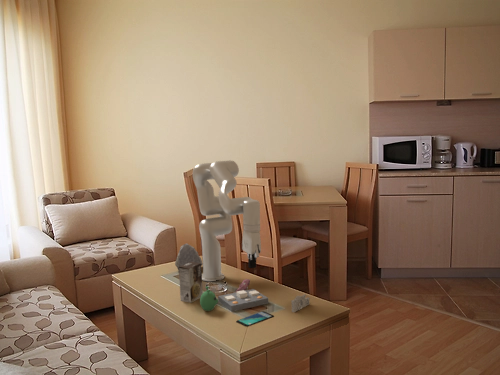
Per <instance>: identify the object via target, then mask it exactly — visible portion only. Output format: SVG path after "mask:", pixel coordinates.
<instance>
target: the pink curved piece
mask: <svg viewBox="0 0 500 375" xmlns="http://www.w3.org/2000/svg"><path fill="white" fill-rule="evenodd" d="M250 283H251V279H249V278H248V279H247V278H246V279H244V280H242V282H241V283H240V284H239V287H238V288H237V289H236V290H235V292H234V293H236V292H237V291H242V290H244V291H246V290H249V287H248V286H249V285H250Z"/></svg>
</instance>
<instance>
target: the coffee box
mask: <svg viewBox="0 0 500 375" xmlns="http://www.w3.org/2000/svg"><path fill="white" fill-rule="evenodd" d="M178 273H179V277H178V278H179V296H180V299H179V300H180V301H182V302H185V303H191V304H192V303H194V302H195V301H197V300H200V297H201V295H202V294H203V293H204V291H203V280H202V274H203V271H202V266H201V263H197V262H188V263H186V264H184V265H182V266H179V270H178Z"/></svg>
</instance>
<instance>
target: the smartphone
mask: <svg viewBox="0 0 500 375" xmlns="http://www.w3.org/2000/svg"><path fill="white" fill-rule="evenodd" d="M274 317H275V316H274V315H273V314H271V313H270V312H269V313H268V312H266V311H264V310H262V311H260V312H257V313H254V314H252V315H249V316H245V317H243V318H239V319H237V320H235V321H236V323H238V324H239V325H242V326H244V327H245V328H247V327H248V328H249V327H251V326H253V325H257V324H258V323H261V322H263V321H266V320H268V319H271V318H274Z"/></svg>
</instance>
